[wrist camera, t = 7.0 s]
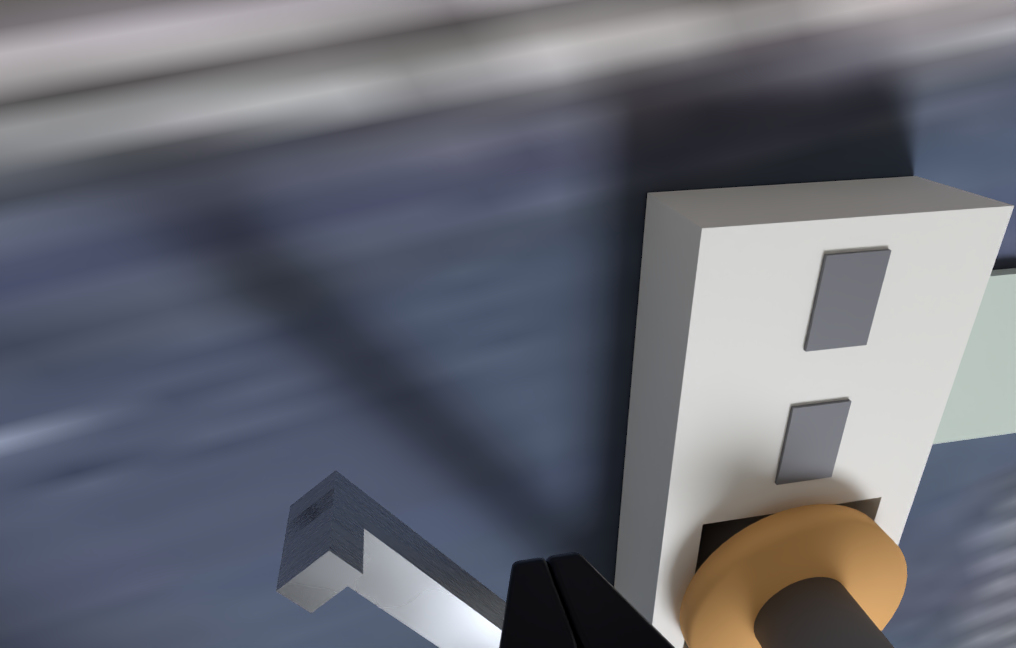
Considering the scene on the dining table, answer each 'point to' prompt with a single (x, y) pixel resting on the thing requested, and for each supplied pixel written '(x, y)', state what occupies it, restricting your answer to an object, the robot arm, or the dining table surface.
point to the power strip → (790, 359)
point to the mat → (986, 369)
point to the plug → (794, 581)
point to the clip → (382, 568)
